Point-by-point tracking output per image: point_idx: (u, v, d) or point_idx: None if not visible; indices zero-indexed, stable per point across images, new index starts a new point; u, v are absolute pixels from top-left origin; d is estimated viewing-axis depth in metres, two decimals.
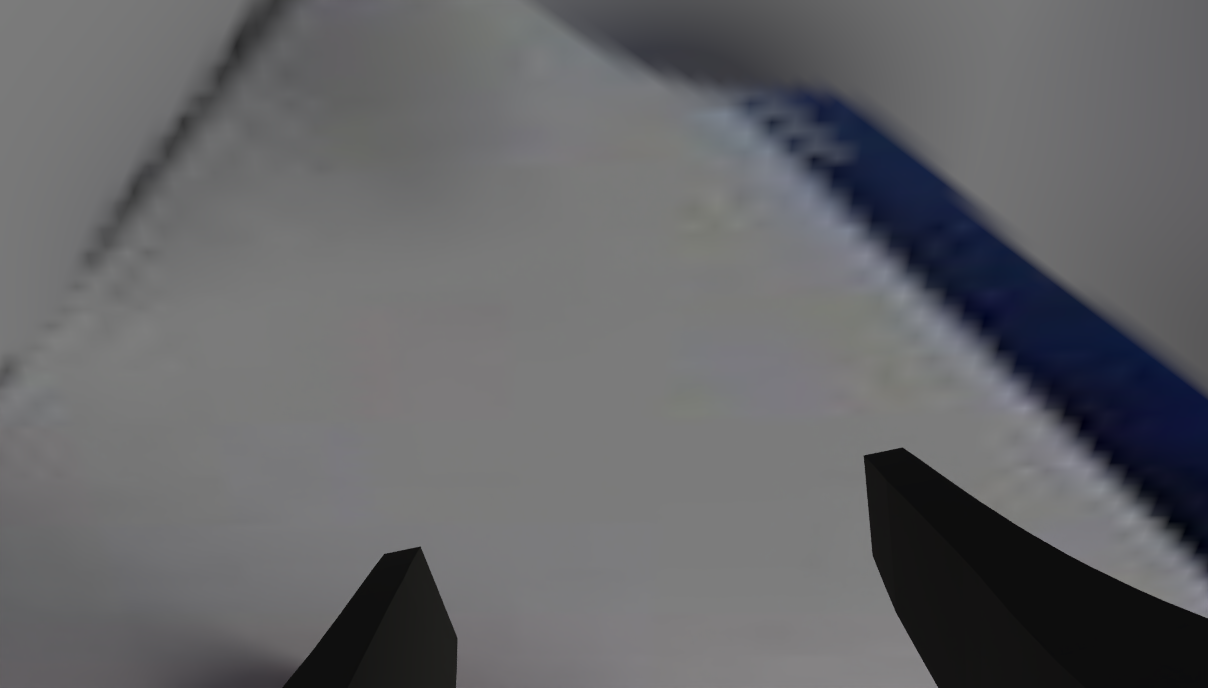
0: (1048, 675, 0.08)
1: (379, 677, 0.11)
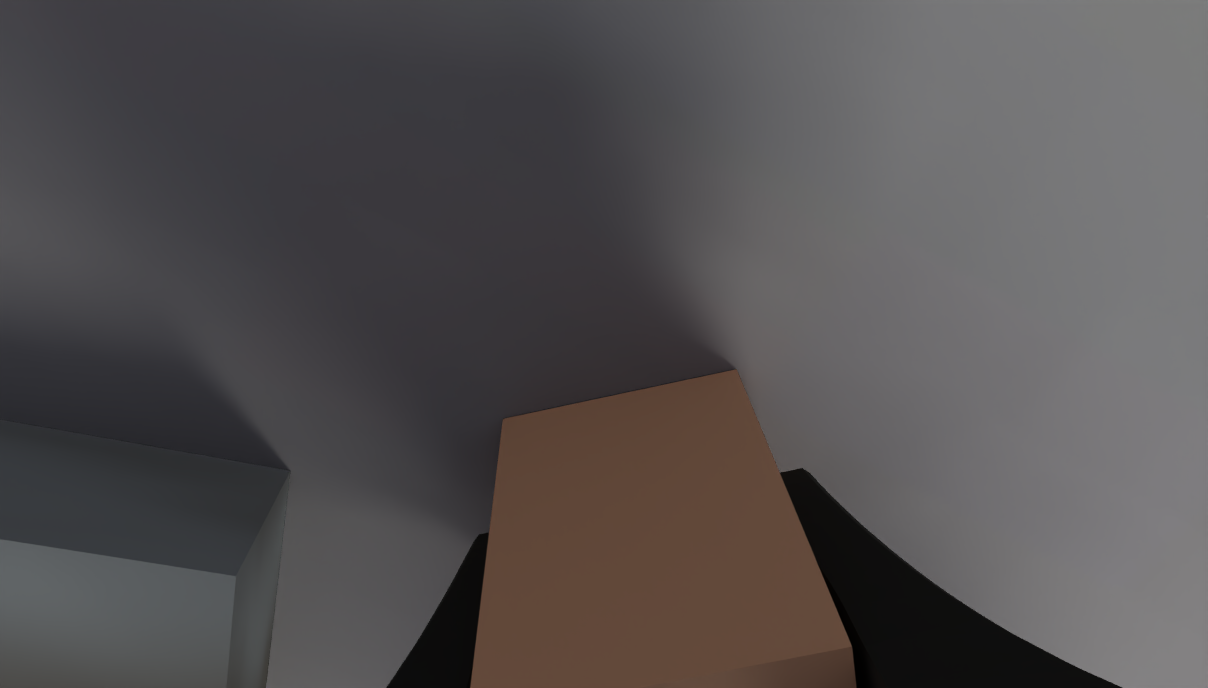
0: None
1: None
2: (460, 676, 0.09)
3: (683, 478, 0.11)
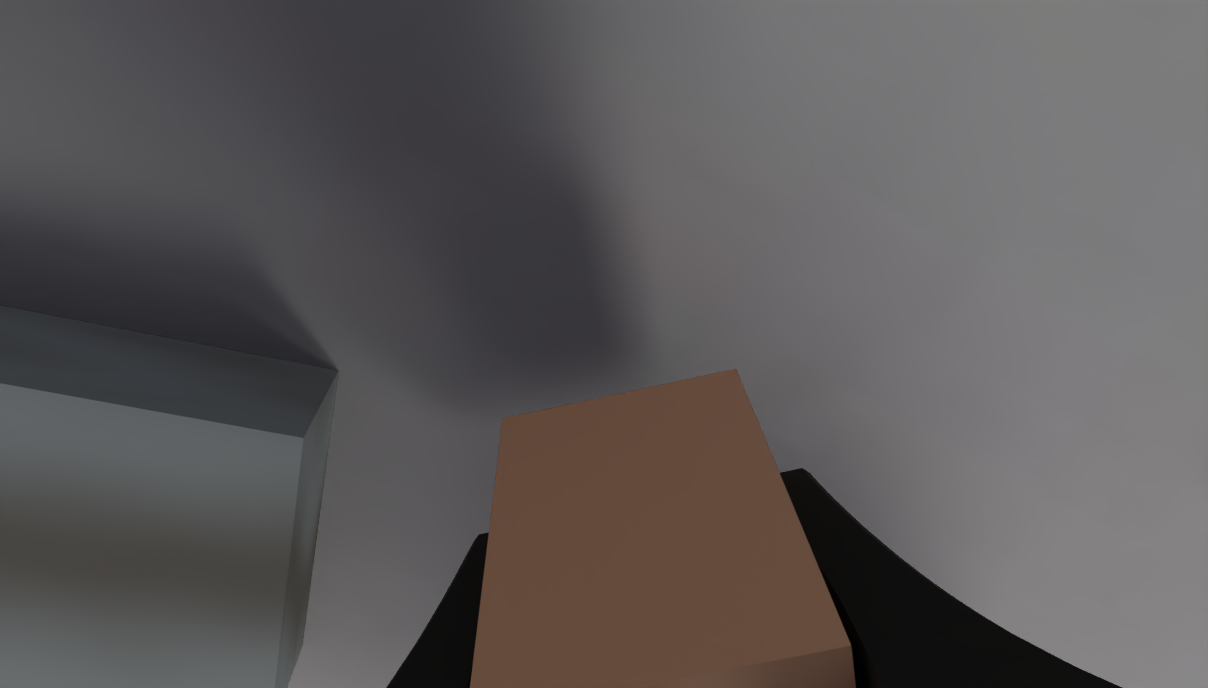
0: None
1: None
2: (460, 676, 0.09)
3: (683, 477, 0.11)
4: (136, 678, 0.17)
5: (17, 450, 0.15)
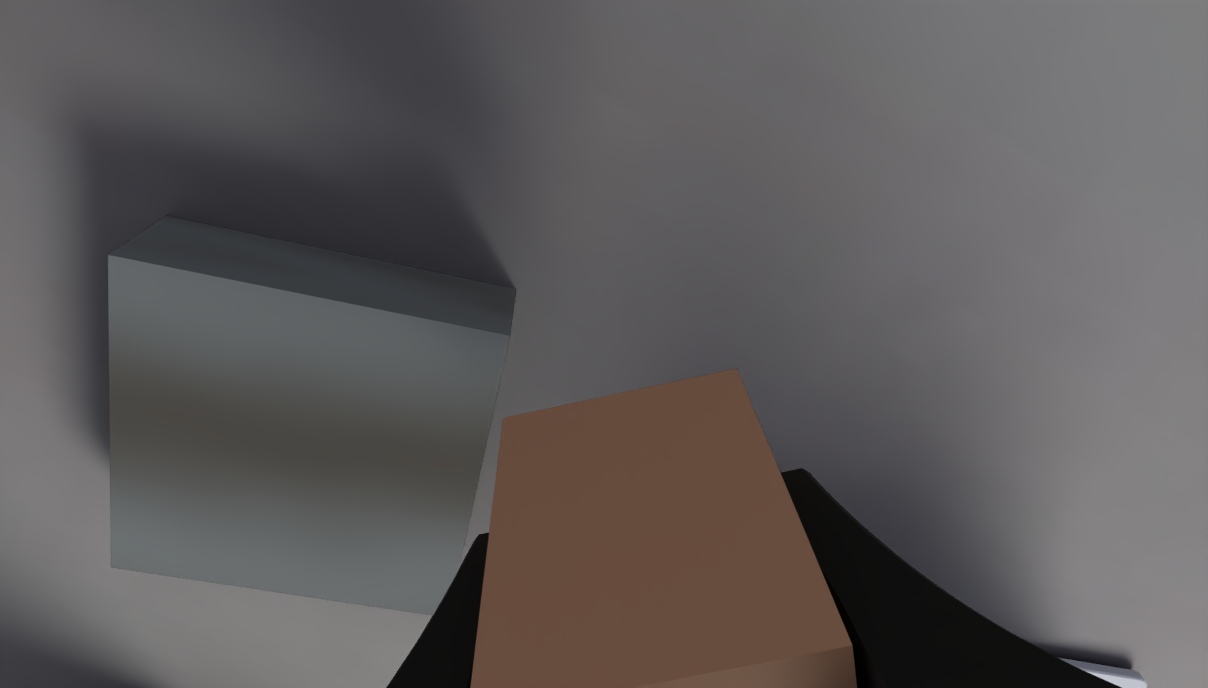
0: None
1: None
2: (460, 676, 0.09)
3: (683, 476, 0.11)
4: (339, 561, 0.20)
5: (265, 346, 0.17)
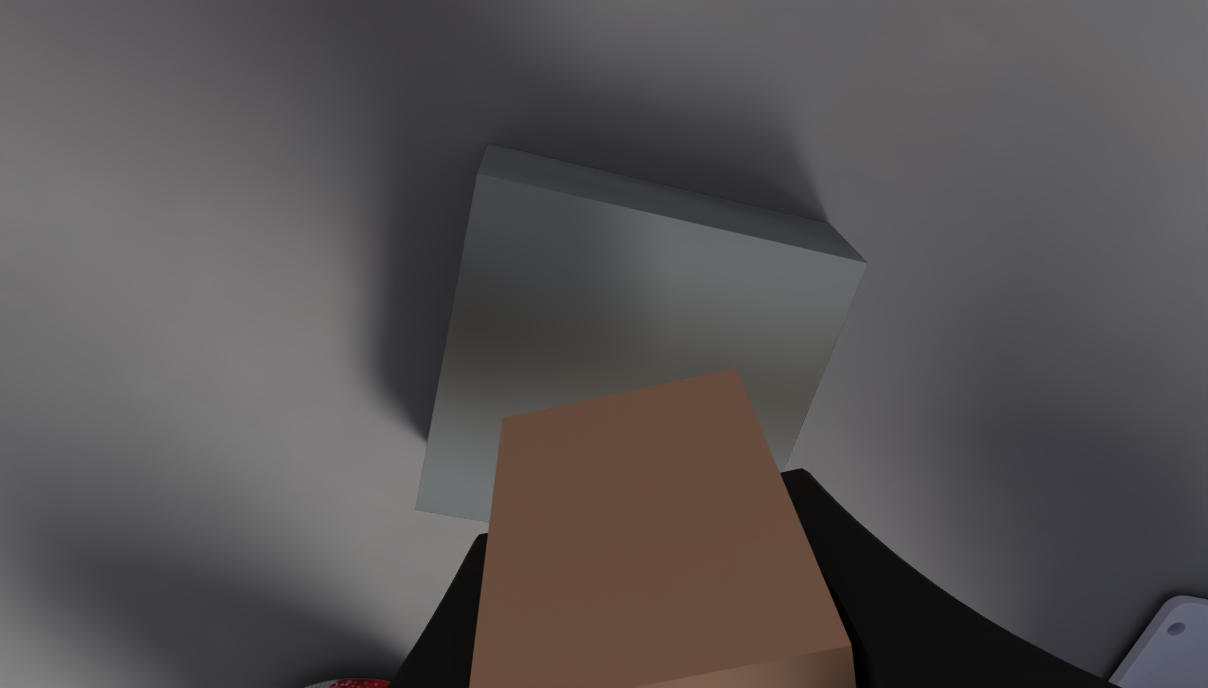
0: None
1: None
2: (460, 676, 0.09)
3: (683, 476, 0.11)
4: None
5: (617, 273, 0.16)
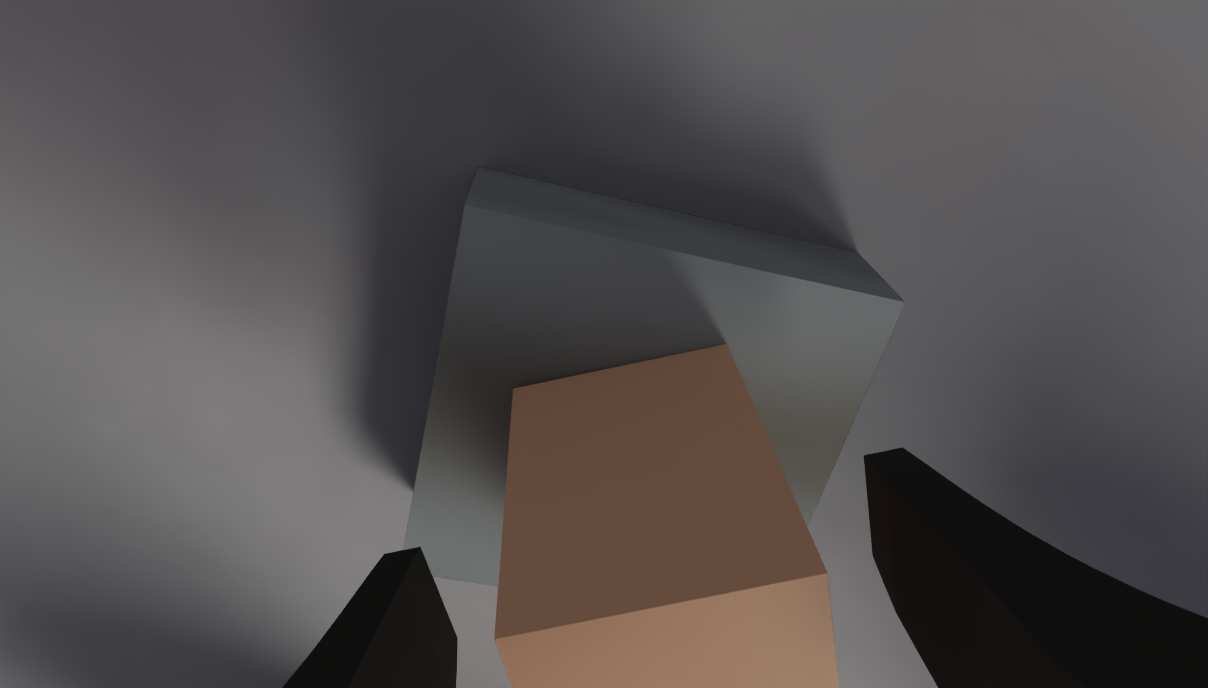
0: (1048, 675, 0.08)
1: (379, 677, 0.11)
2: None
3: (680, 438, 0.13)
4: None
5: (623, 314, 0.15)
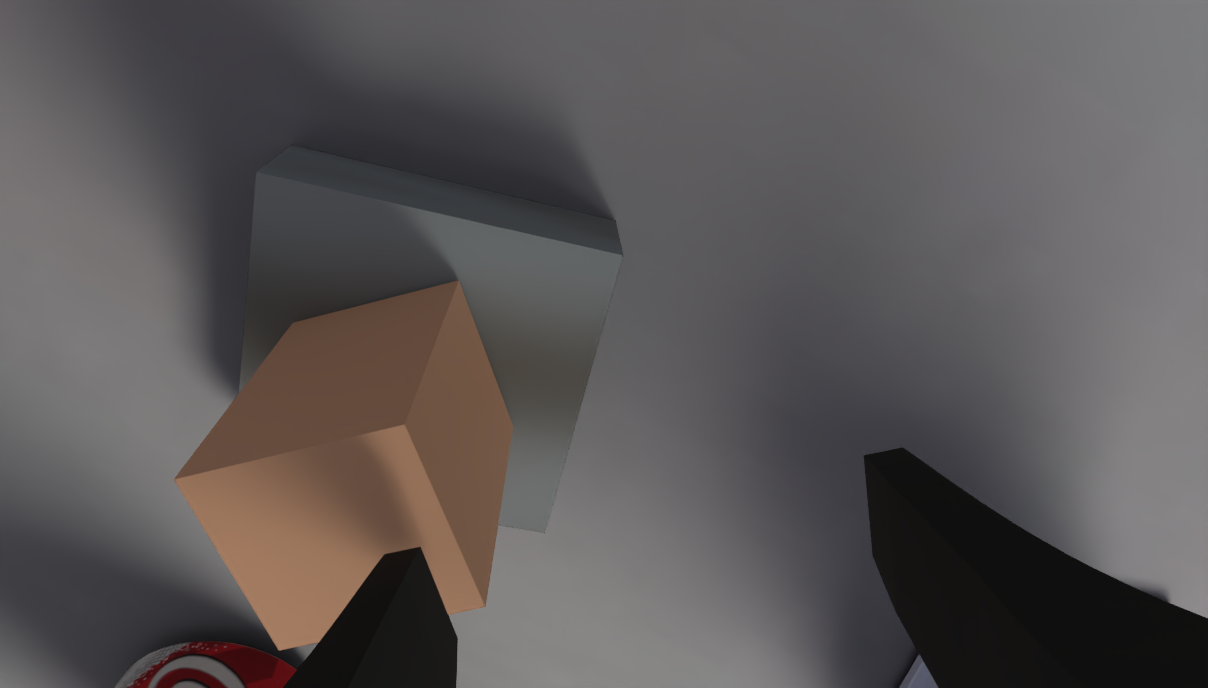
0: (1048, 676, 0.08)
1: (379, 677, 0.11)
2: None
3: (378, 347, 0.16)
4: None
5: (395, 263, 0.18)
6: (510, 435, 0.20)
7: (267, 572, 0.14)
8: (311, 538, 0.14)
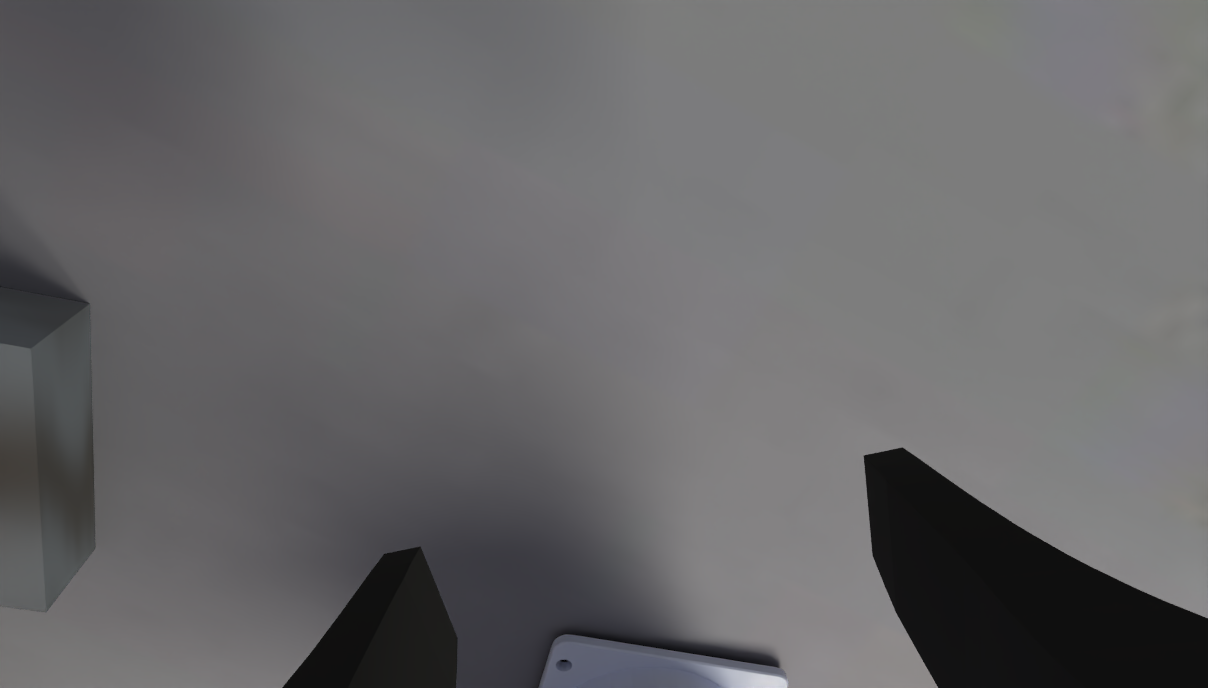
0: (1048, 675, 0.08)
1: (379, 677, 0.11)
2: None
3: None
4: None
5: None
6: None
7: None
8: None
